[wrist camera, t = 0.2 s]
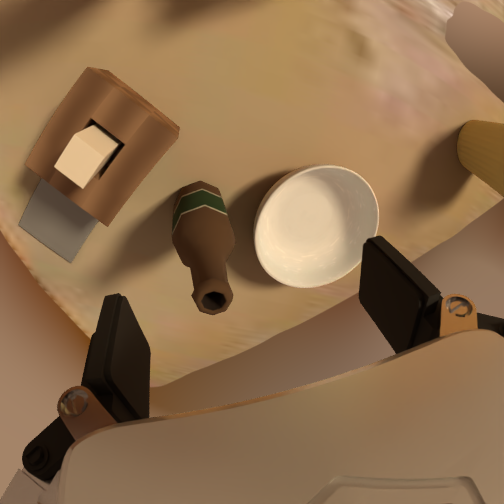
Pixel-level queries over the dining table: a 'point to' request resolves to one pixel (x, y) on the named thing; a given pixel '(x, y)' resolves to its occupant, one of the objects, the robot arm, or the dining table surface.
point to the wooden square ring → (118, 124)
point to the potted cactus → (483, 151)
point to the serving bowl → (314, 225)
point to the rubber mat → (57, 221)
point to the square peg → (87, 154)
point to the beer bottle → (204, 244)
